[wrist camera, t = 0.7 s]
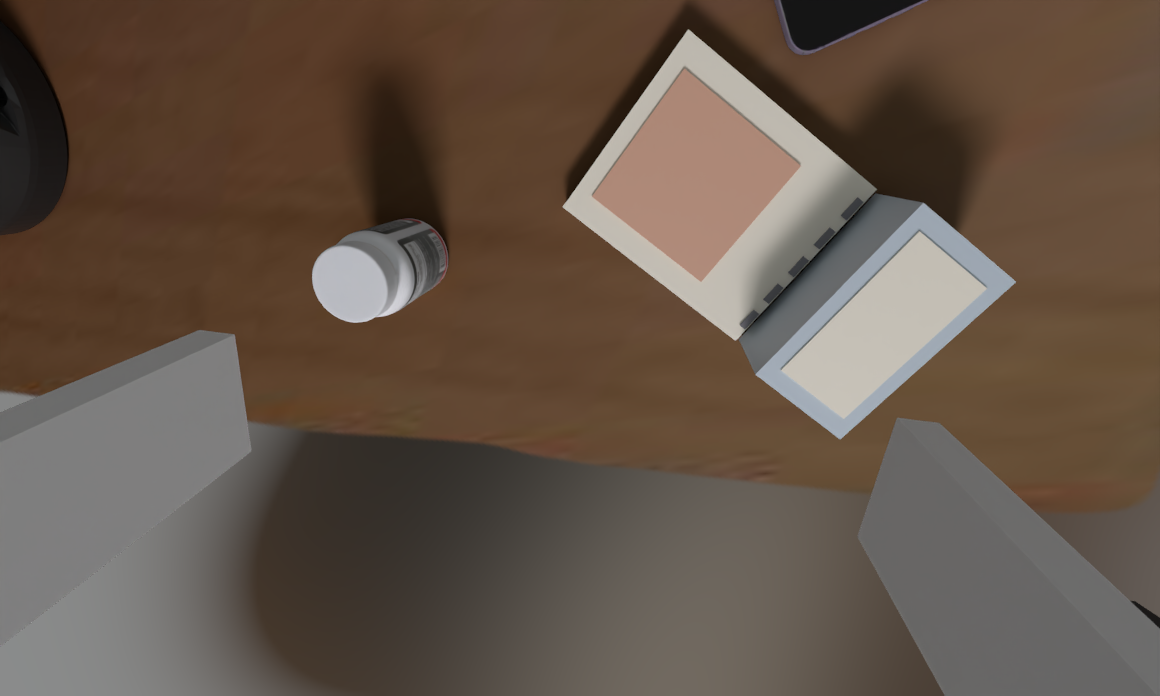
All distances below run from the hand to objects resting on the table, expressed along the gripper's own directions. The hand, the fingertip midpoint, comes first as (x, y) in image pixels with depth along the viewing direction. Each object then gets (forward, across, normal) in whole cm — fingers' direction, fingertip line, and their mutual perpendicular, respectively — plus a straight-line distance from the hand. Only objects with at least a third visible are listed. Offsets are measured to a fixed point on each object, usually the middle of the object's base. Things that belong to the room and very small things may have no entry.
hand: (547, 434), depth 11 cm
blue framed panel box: (+23, +14, -2) cm, 27 cm away
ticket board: (+24, +6, +3) cm, 25 cm away
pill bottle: (+24, -12, -2) cm, 27 cm away
